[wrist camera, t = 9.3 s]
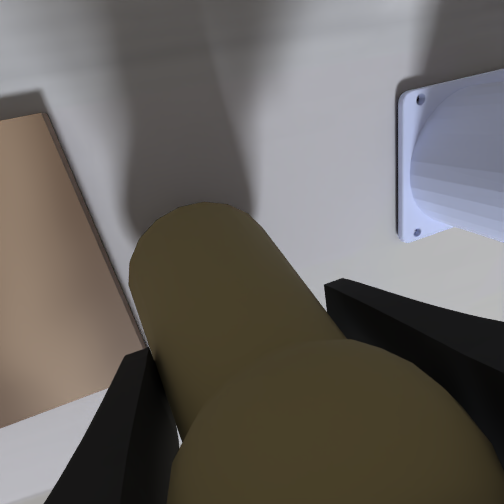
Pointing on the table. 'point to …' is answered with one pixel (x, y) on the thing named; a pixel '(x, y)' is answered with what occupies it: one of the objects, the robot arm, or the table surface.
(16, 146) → the light brown board
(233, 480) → the cork
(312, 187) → the table surface
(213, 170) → the table surface
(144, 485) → the robot arm
